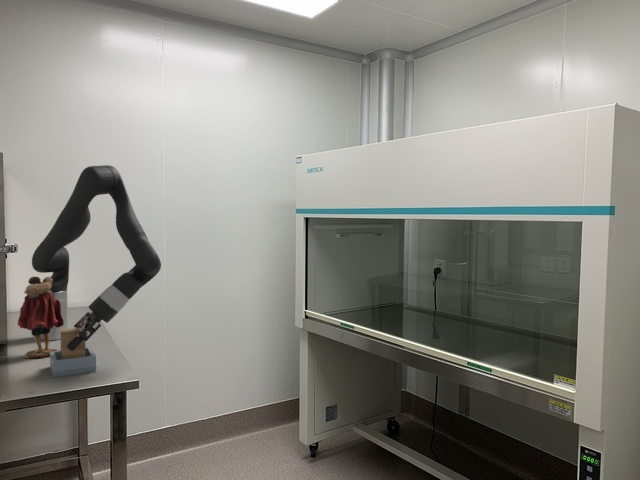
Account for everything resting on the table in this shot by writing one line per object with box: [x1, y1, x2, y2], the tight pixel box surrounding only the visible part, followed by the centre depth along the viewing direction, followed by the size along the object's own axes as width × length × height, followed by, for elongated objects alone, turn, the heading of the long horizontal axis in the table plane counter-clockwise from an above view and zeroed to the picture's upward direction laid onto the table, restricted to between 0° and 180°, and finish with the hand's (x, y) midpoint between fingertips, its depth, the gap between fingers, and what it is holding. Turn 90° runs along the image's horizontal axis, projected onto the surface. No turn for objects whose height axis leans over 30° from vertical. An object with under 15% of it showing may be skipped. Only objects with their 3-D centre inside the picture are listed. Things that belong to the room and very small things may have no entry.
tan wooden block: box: [60, 327, 86, 360], centre depth 144 cm, size 5×6×10 cm
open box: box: [49, 346, 97, 378], centre depth 144 cm, size 11×11×4 cm
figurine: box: [17, 276, 64, 359], centre depth 157 cm, size 12×11×25 cm
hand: (67, 345), depth 143 cm, fingers open, 8 cm apart
